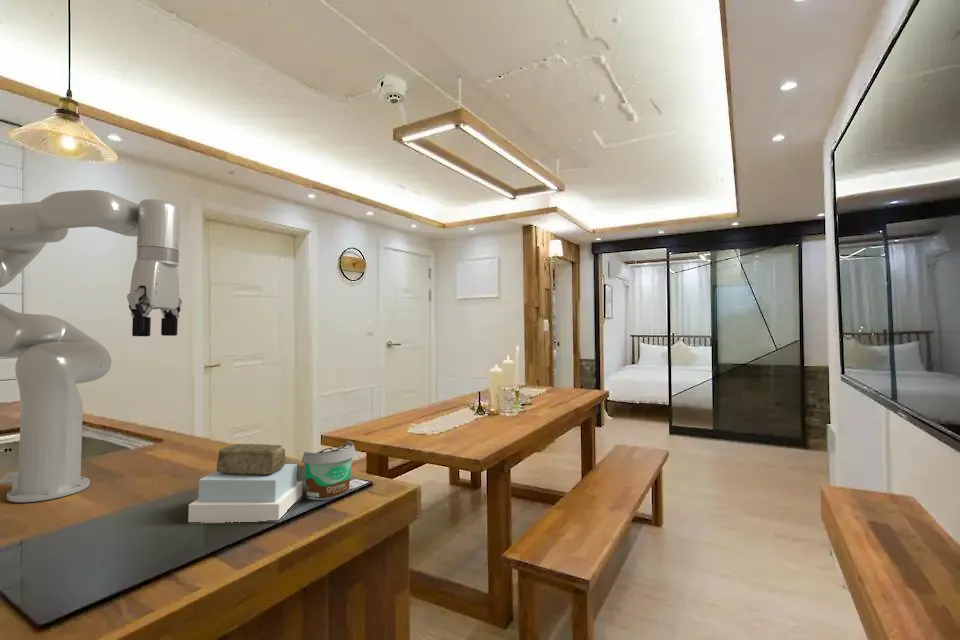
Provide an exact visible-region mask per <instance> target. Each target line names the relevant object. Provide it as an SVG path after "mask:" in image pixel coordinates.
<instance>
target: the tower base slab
mask: <svg viewBox="0 0 960 640" xmlns="http://www.w3.org/2000/svg"><path fill="white" fill-rule="evenodd" d="M301 496H302V497H303V481H297V483H296V484H295V485H294V486H293V487H292V488H291V489H290V490H289V491H287V492H286V493H285V494H284V495H283V496H282V497H281V498H279V499H278V500H277V501H276V502H198V498H197V499H195V500H194V501H192V502H191V503H189V504H188V515H187V516H188V519H187V520H188V521H187V522H201V523H200V524H226V523H225V522H228V523H227V524H234V523H233V522H239V523H238V524H241V523H240V522H258V521H267V520H279V519H280V518H281V517H282V516H283V515H284V514H285V513H286V512H287V510H288V509H289V508H290V507H291V506H292V505H293V504H294V503H295V502H296V501H297V500H298V499H299V498H300V497H301ZM203 522H204V523H203ZM229 522H231V523H229Z"/></svg>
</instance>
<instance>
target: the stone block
mask: <svg viewBox="0 0 960 640" xmlns="http://www.w3.org/2000/svg"><path fill="white" fill-rule="evenodd" d="M285 464H286V449H284V446H282V445H280V444H267V443H266V444H263V443H262V444H261V443H259V444H258V443H235V444H231V445H228V446H226V447H223V448H221V449H219V451H218V458H217V462H216V470H217V471H219V472H222V473H228V474H249V475H252V474H255V475H266V474H272V473H274V472H276V471H279V470H280V469H281V468H282V467H284V465H285Z"/></svg>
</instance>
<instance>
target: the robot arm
mask: <svg viewBox="0 0 960 640" xmlns="http://www.w3.org/2000/svg"><path fill="white" fill-rule="evenodd" d="M180 226H181V210H180V207H179V206H178V205H176V204H175V203H173V202H171V201H168V200H162V199H158V198H157V199H155V198H146V199H142V200H140V202H139V203H137V202H133V201H131V200H128V199H126V198H125V197H124V198H123V197H122V196H118V195H116V194H114V193H111V192H108V191H106V190H105V191H104V190H98V189H83V190H82V189H81V190H79V189H78V190H68V191H67V190H66V191H59V192H54V193H52V194H49V195H48V196H46V197H44V198H43V199H42V200H40V201H33V202H32V201H31V202H20V203H9V204H8V203H7V204H0V288H3V287H5V286H6V285H8V284H9V283H11V282H12V281H13V280H14V279H15V278H16V277H17V276H18V275H19V274H20V273H21V272H22V271H23V270H24V269H25V268H26V267H27V266H28V265H29V264H30V263H31V262H33V260H34V259H35V258H36V257H37V256H39V254H40V253H41V251H42V250H43V248H45V246H46V244H48V243H58V242H61V241H63V240H64V239H65V238H66V236H68V232H69V229H75V228H87V227H89V228H98V229H104V230H105V231H106V230H107V231H110V232H113V233H115V234H120V235H123V236H125V237H136V260H135V262H134V265H133V269H132V274H131V279H130V280H131V282H130V289H129V290H130V291H129V293H128V294H127V295H126V299H127V302H128V309H129V310H130V317H132V323H131V324H132V326H131V328H132V329H131V331H132V333H131V334H132V335H131V336H132V337H150V336H151V328H152V327H151V326H152V325H151V324H152V320H151V319H152V317H151V316H149V315H151V312H152V311H153V310H160V312H161V314H162V316H163V317H161V321H160V322H161V323H160V324H161V325H160V328H161V329H160V335H161V336H164V337H165V336H166V337H167V336H168V337H171V336H172V337H173V336H174V337H176V336H178V325H179V324H178V323H179V322H178V321H179V318H180V312H181V307H182V304H183V300H182V299H181V298H180V282H179V280H180V279H179V272H178V271H179V269H178V267H179V265H180V233H181V227H180ZM0 358H8V359H9V358H10V359H11V358H12V359H13V358H17V359H16V361H15V365H14V367H15V369H14V372H15V377H16V381H17V386H18V391H19V399H20V417H19V419H20V420H19V421H20V423H19V447H18V448H19V451H18V471H16V472H14V471H12V472H11V471H10V472H6V473H5V474H4V476H3V477H2V478H0V485H11V489H10V490H9V491H7V492H6V500H7V501H9V502H11V503H34V502H41V501H48V500H54V499H58V498H62V497H65V496H70V495H74V494H77V493H79V492H81V491H83V490H85V489H87V488H88V487H89V486H90V483H91V482H90V479H89V478H88V477H84V476H81V473H82V469H81V468H82V444H83V437H82V436H83V419H84V418H83V413H84V412H83V411H84V410H83V399H82V396H81V394H80V392H79V390H78V389H79V388H77V384H84V383H91V382H94V381H97V380H99V379H101V378H103V377H104V376H105V375H107V373H108V372H110V369H111V368H112V357H111V353H110V352H109V351H108V349H107V348H106V347H105V346H104V345H103V344H101V343H100V342H99V341H98V340H96V339H95V338H93V337H91V336H90V335H88V334H86V333H85V332H83V331H82V330H80V329H79V328H77V327H76V326H74V325H72V324H71V323H69V322H68V321H66V320H65V319H62V318H59V317H57V316H53V315H51V314H50V315H48V314H40V313H39V314H36V313H35V314H34V313H33V314H32V313H23V312H18V311H16V310H13V309H10V308H9V307H7V306H6V305H4V304H3V303H1V302H0Z"/></svg>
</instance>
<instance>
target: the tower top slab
mask: <svg viewBox="0 0 960 640" xmlns="http://www.w3.org/2000/svg"><path fill="white" fill-rule="evenodd" d="M297 473H298V463H285V465H284V467H282V468H281V469H280V470H279V471H276V472H274V473H272V474H266V475H255V474H252V475H249V474H228V473H222V472H219V471H217V469H216V470H214V471H212V472H210V473H209V474H206V475H205V476H203V477H201V478H200V479H199V480H198V497H197V499H198V502H276V501H277V500H278V499H279V498H281V497H282V496H283V495H284V494H285V493H286V492H287V491H289V490H290V489H291V488H292V487H293V486H294V485H295V484H296V483H297V482H298V481H297V479H298V478H297V477H298V476H297V475H298V474H297Z"/></svg>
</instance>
